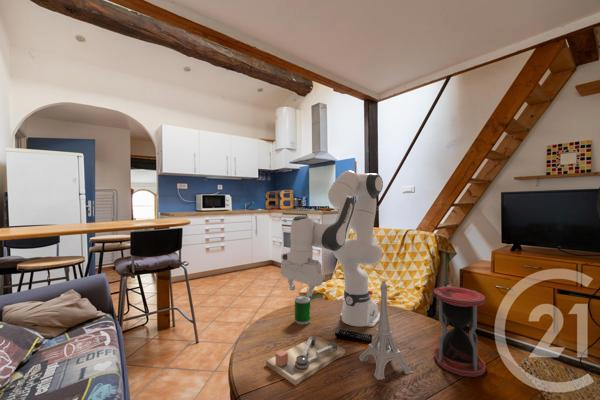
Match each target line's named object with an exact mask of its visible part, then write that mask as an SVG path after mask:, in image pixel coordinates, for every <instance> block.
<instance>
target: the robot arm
mask: <svg viewBox="0 0 600 400" xmlns="http://www.w3.org/2000/svg"><path fill="white" fill-rule="evenodd" d="M383 187H384V181H383V178H382V177H381V175H380V174H378V173H373V172H371V173H358V174H357V173H356V172H355V171H353V170H345V171H343V172H342V173H340V175H339V176H337V178H335V180H334V181H333V183H332V185H331V186H330V187H329V190H328V192H327V198H328V201H329V203H330V204H331V206H333V207H334V208H335V209H337V210H338V213H337V217H336V218H335V221H334V222H332V223H330V224H327V223H326V224H325V223H318V222H316V221H315V220H314V219H313V218H312V216H311V215H308V214H305V215H304V214H303V215H297V216H295V217H294V218H293V219H292V221H291V223H290V233H289V234H290V236H289V238H290V248H289V251H288V252H286V253H282V254H281V256H280V258H281V263H280V275H281V277H282V278H285V279H287V283H288V286H289V290H290V291H292V292H293V291H295V290H296V285H294V281H296V282H298V283H299V282H300V283H302V284H306V285H307V287H308V290H306V292H305V294H306V296H308V297H312V296H313V291H314V289H315V288H316V287H319V286H322V285H323V283H324V278H323V269H322V264H321V262H320V261H319V260H316V259H313V255H314V254H313V247H314V248H320V249H326V250H328V251H332V253H333V255H334V257H335V258H336V259H337V260H338V262H339V264H340V266H341V269H342V271H343V272H342V273H343V276H344V290H343V298H344V299H342V307H341V308H342V309H341V312H340V317H341V321H342V323H344V324H346V325H349V326H351V327H371V328H373V327H375V326H376V325H377V323H379V316H380V311H379V306H378V304H377V303H376V302H375V301H374V300H373V299H372V298H371V296H373V294H374V291H373V290H370V289H369V277H368V273H366V271H364V270H363V268H362V267H361V265H366V266H368V265H371V266H372V265H378V263H380V261H381V260H382V256H383V251H382V248H381V246H380V245H379V244H378V242H377V241H376V239H375V236H374V226H375V220H376V219H375V218H376V214H377V198H378V197H379V195H380V193H381V192H382V190H383ZM354 197H356V202H355V200H354ZM349 226H350V228H351V230H352V231H354V233H356V239H353V238H352V239H351V238H347V232H348V228H349Z"/></svg>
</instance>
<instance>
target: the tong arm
mask: <svg viewBox="0 0 600 400" xmlns="http://www.w3.org/2000/svg"><path fill="white" fill-rule="evenodd" d="M307 340H308V342H307V344H306V346H305V350H304V352H303V354H302V355H300V356H297V358H296V363H297V364H298V365H306V364H307V363H308V357H307V356H306V355H307V354H309V351H310V349H311V346H312V345H315V343H316V337H315V336H312V335H311V336H310V335H309V337H308V339H307Z"/></svg>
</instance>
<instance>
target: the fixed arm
mask: <svg viewBox="0 0 600 400" xmlns="http://www.w3.org/2000/svg"><path fill="white" fill-rule="evenodd" d="M337 346H338V344H337V343H336V342H333V341H332V342H330V343H329V344H328V346H327V347H325V348H322V349H320V350H318V351H316V355H315V356H313V357H311V358H309V359H308V363H307V364H306V365H298V364H297V363H296V362H295V367H296V368H297V369H299V370H305V369H307V368H309V363H311V362H313V361H315V360H317V359H320V358H322V357H324V356H326V355H329V354H331V353H333V352H335V351H337Z"/></svg>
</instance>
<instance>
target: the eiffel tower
mask: <svg viewBox="0 0 600 400" xmlns="http://www.w3.org/2000/svg"><path fill="white" fill-rule="evenodd" d="M379 286H380V288H379V291H380V309H379V312H380V316H379V321H378V326H377V328H376V329H375V330H376V333H375V335H374V338H373V340H372V341H371V343H369V344H368V347H367V348H366V349H365V350H364V351H363V353H362V354H361V355H359V356H358V357H357V358H358V359H359V361H361V362H362V363H363V362H368V361H369V357H371V356H373V357H374V360H375V372H374V374H373V376H374V377H375V378H376V379H377V381H379V380H384V379H386V377H385V368H386V366H387V363H388V362H390V361H396V362H398V364H399V365H400V370H401V371H402V372H403V373H404V374H405V375H409V374H413V373H414V371H412V370H411V368H410V367H409V366H408V364H407V362H406V361H405V359H404V358H403V356H402V355H401V353H402V351H400V350H399V349H398V348H397V346H396V344H395V341H394V339H393V338H394V337H393V336H392V334H393V331H391V326H390V321H389V311H388V309H389V308H388V298H387V297H388V296H387V295H388V291H389V289H388V285H387V284H386V280H384V279H383V280H382V281H381V284H380V285H379Z"/></svg>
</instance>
